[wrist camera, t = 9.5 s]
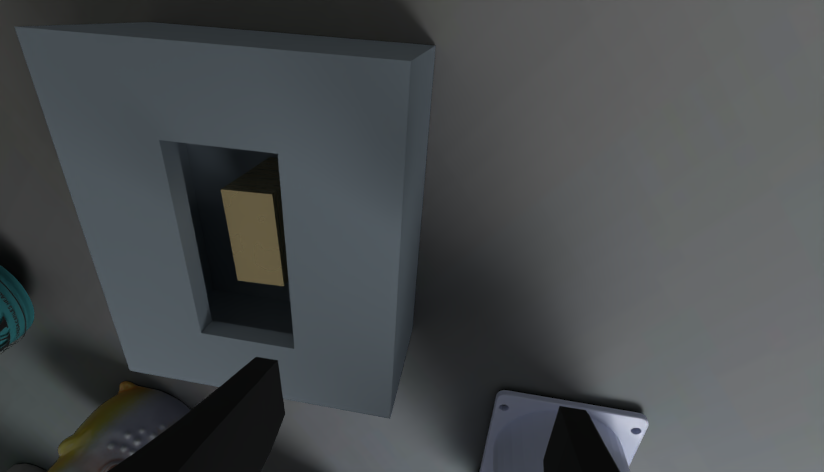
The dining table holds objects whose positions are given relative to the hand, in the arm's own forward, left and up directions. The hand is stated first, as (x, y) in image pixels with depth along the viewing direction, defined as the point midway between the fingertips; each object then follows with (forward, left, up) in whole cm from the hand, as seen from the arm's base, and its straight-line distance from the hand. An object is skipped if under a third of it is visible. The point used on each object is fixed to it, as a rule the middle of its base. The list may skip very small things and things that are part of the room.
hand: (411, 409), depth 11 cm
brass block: (+1, +7, -10) cm, 12 cm away
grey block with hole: (+1, +7, -10) cm, 13 cm away
